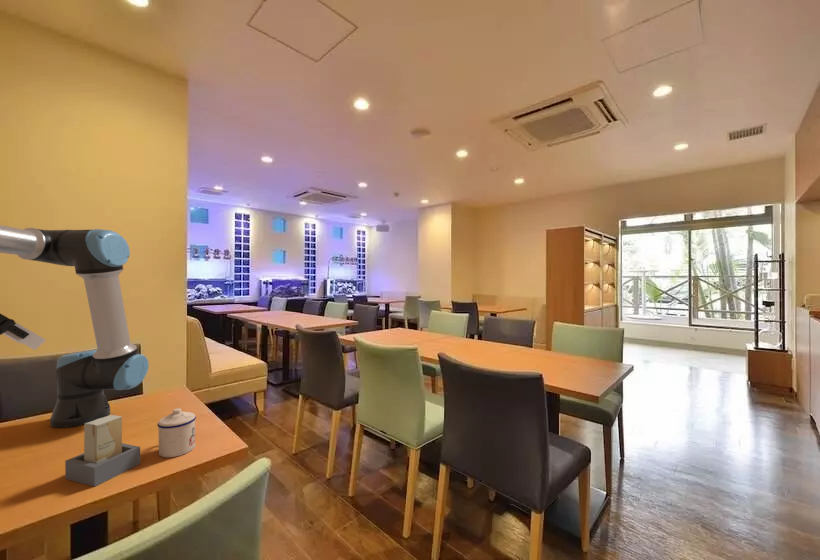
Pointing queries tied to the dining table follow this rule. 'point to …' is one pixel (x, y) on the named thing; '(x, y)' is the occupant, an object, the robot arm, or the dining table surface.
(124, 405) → the dining table surface
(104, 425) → the skincare box
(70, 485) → the dining table surface
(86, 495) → the dining table surface
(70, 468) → the tray
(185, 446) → the teacup with lid
